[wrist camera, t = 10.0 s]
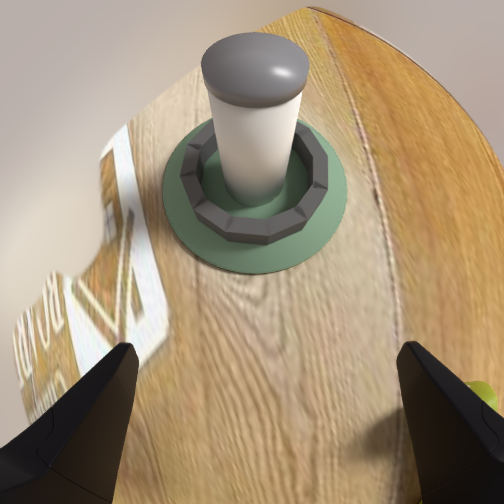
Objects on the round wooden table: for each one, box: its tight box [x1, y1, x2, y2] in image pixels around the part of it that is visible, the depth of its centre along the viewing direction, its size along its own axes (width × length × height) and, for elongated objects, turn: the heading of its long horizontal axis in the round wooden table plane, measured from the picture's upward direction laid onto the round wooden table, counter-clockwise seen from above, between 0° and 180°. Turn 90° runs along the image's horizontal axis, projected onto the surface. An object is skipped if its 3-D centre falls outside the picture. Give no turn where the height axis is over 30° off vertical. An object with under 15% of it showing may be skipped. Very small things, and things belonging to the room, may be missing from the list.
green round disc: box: [163, 118, 347, 274], centre depth 24 cm, size 16×16×3 cm
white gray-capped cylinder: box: [201, 32, 309, 206], centre depth 18 cm, size 5×5×13 cm
